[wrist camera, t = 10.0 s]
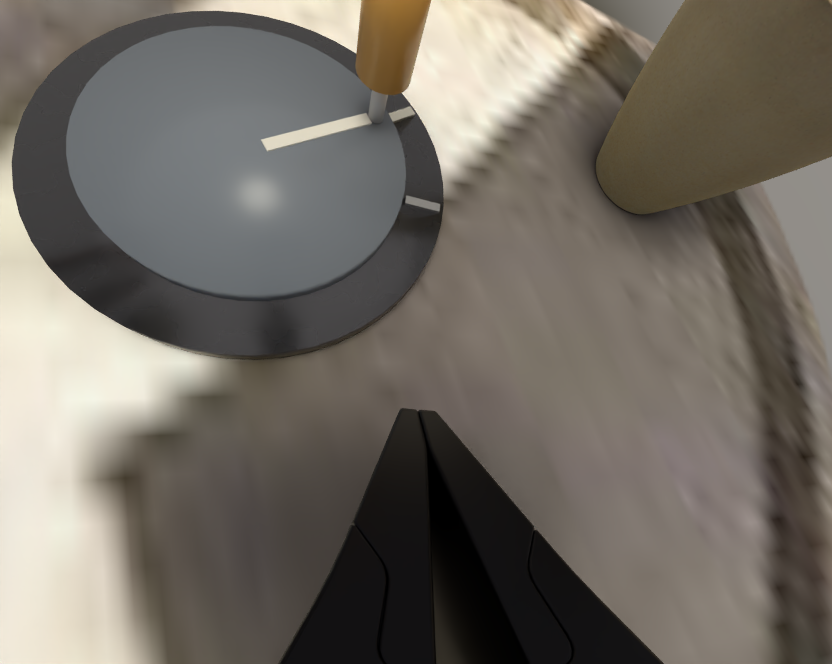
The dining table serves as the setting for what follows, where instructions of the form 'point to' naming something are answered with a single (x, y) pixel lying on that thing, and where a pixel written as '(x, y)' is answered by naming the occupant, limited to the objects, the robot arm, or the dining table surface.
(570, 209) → the dining table surface
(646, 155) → the plant pot
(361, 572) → the robot arm
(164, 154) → the dial
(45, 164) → the dial plate
